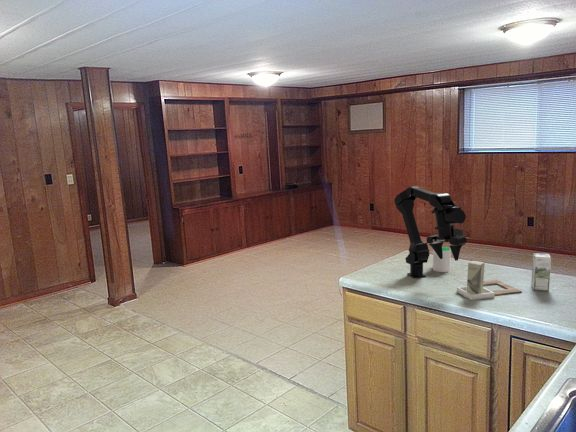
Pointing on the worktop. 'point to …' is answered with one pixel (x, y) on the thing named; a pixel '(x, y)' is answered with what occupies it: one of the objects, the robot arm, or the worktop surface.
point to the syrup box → (541, 271)
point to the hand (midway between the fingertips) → (448, 259)
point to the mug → (442, 260)
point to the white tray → (484, 295)
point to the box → (475, 277)
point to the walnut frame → (507, 289)
